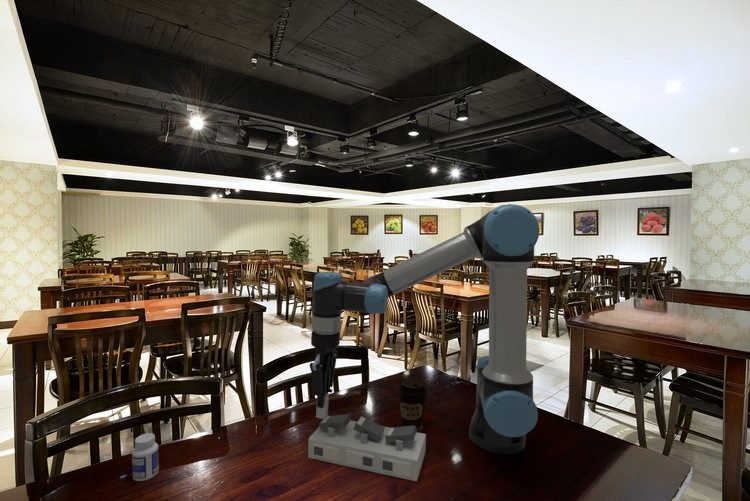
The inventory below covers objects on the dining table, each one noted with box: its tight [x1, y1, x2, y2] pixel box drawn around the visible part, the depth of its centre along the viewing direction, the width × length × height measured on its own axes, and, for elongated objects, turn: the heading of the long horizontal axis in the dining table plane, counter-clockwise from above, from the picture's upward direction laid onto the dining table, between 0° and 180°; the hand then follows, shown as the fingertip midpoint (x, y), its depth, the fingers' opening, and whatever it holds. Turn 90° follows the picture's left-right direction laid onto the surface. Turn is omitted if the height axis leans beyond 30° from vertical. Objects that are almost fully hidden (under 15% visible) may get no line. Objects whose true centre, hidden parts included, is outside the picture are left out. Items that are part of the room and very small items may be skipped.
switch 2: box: [353, 415, 386, 442], centre depth 95 cm, size 7×5×3 cm
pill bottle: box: [131, 432, 160, 482], centre depth 87 cm, size 5×5×9 cm
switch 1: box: [318, 413, 352, 430], centre depth 98 cm, size 7×5×3 cm
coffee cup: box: [398, 379, 428, 431], centre depth 110 cm, size 9×8×13 cm
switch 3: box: [385, 425, 418, 443], centre depth 93 cm, size 7×5×3 cm
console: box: [307, 420, 427, 482], centre depth 95 cm, size 28×12×7 cm, turn 73°
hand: (321, 417), depth 99 cm, fingers closed
